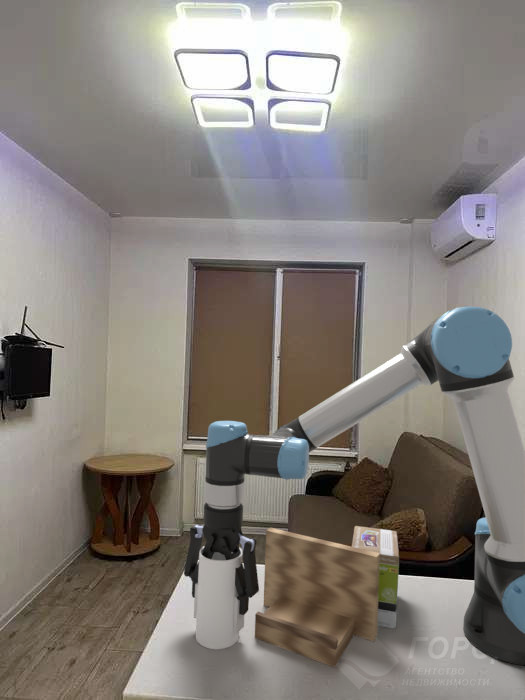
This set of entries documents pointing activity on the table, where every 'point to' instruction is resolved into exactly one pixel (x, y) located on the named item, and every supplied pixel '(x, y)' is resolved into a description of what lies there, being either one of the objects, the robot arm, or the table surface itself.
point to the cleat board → (317, 595)
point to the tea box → (382, 568)
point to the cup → (216, 601)
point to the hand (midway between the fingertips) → (218, 622)
